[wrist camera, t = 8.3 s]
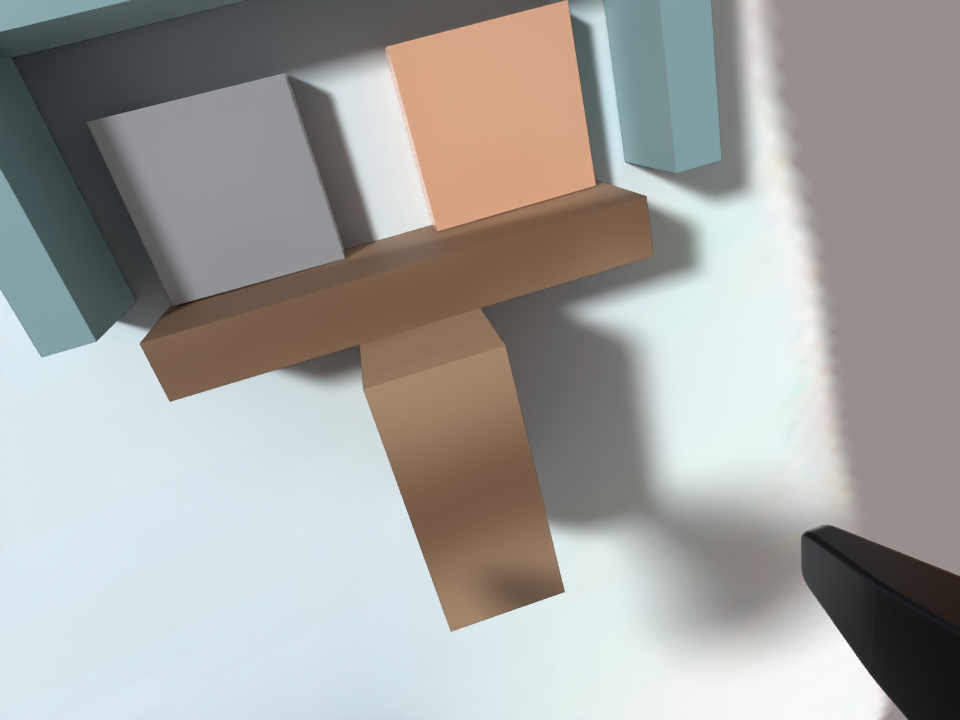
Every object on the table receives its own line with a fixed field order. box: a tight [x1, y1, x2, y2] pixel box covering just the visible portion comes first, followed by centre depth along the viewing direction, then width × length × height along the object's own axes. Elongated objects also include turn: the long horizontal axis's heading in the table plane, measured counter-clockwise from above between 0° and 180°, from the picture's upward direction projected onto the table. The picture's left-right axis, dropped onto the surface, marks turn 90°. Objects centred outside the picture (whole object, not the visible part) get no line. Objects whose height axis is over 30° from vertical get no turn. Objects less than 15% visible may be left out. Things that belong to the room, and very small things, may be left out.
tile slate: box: [86, 73, 345, 306], centre depth 16 cm, size 4×4×2 cm
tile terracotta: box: [384, 0, 596, 232], centre depth 16 cm, size 4×4×2 cm
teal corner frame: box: [0, 0, 721, 357], centre depth 14 cm, size 7×16×3 cm, turn 104°
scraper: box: [140, 180, 654, 632], centre depth 16 cm, size 8×12×6 cm
